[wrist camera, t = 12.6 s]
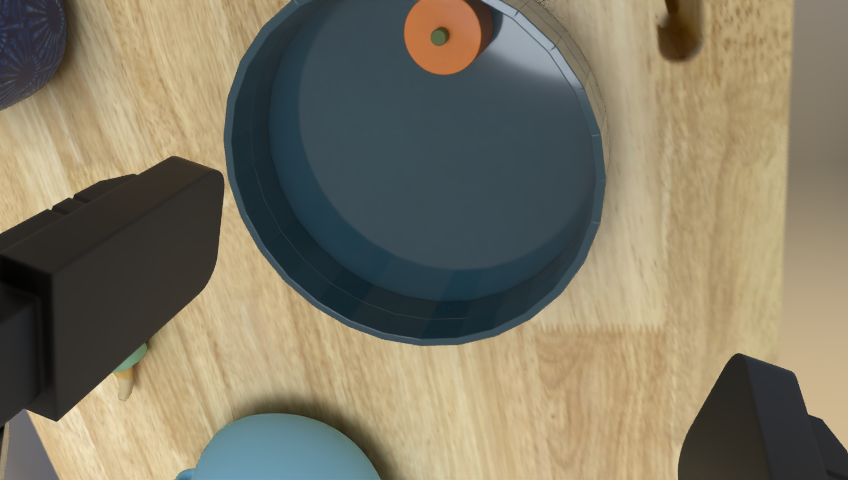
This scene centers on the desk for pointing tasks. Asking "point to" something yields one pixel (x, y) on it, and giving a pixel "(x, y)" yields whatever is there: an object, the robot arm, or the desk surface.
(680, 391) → the desk surface
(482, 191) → the bowl
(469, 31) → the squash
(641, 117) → the desk surface
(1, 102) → the planter
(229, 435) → the blue sugar bowl
